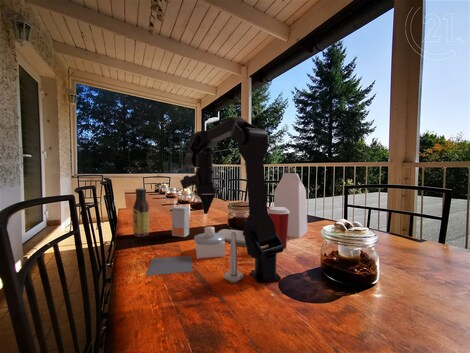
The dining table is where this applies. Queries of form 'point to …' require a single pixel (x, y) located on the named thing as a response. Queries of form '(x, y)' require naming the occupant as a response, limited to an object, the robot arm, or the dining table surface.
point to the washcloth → (239, 236)
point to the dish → (210, 250)
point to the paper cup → (280, 222)
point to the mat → (170, 265)
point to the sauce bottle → (141, 214)
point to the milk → (292, 203)
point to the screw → (233, 262)
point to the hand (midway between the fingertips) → (204, 211)
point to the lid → (209, 237)
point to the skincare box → (180, 221)
